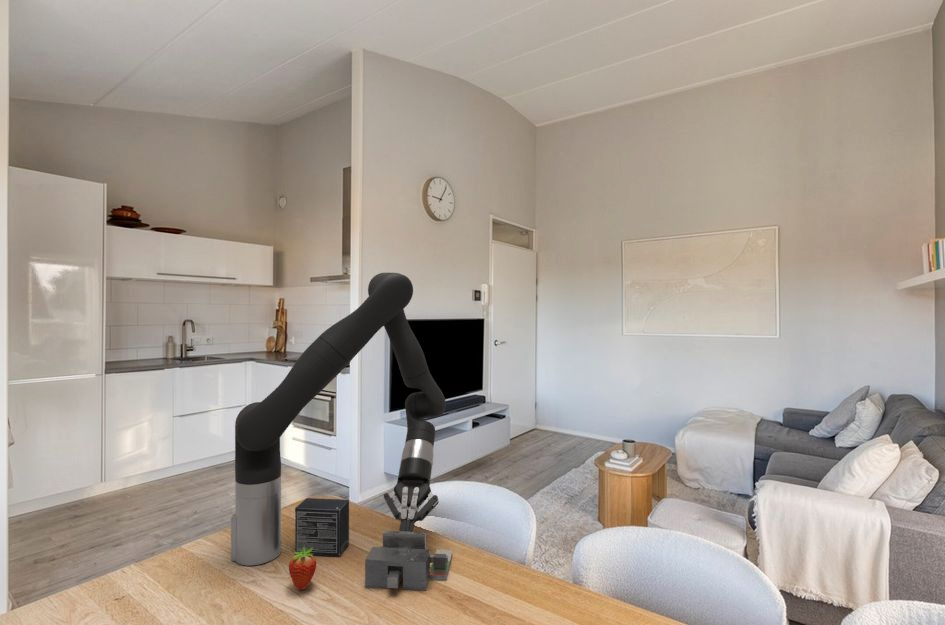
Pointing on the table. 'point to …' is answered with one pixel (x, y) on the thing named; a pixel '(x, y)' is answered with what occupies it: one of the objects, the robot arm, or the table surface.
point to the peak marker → (439, 561)
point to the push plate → (403, 541)
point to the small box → (322, 526)
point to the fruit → (302, 568)
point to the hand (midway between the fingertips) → (405, 539)
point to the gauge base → (412, 563)
